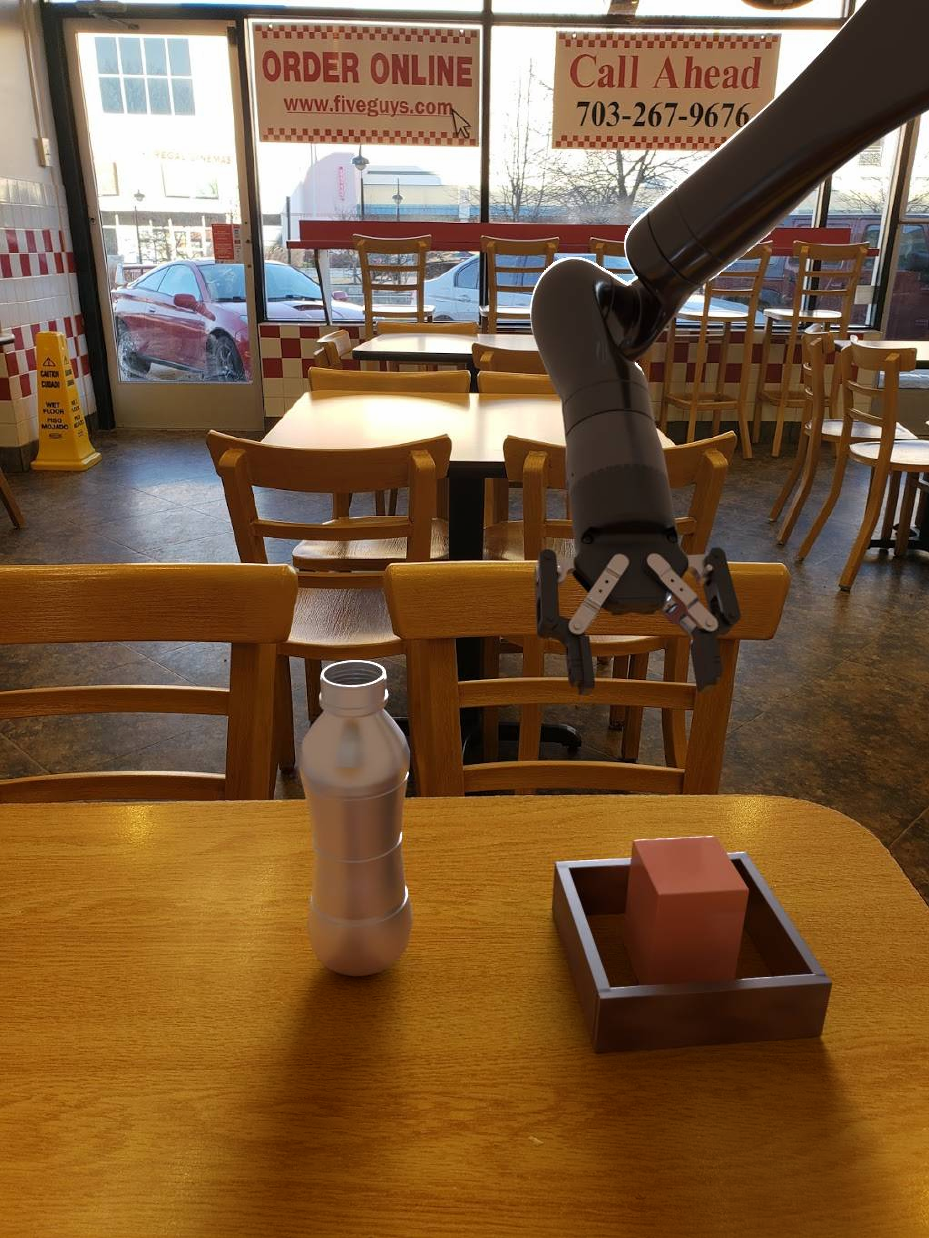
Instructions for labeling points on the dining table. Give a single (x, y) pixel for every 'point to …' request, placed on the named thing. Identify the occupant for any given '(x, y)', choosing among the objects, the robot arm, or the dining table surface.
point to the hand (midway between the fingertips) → (648, 690)
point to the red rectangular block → (683, 911)
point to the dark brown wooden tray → (688, 1008)
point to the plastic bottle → (356, 823)
